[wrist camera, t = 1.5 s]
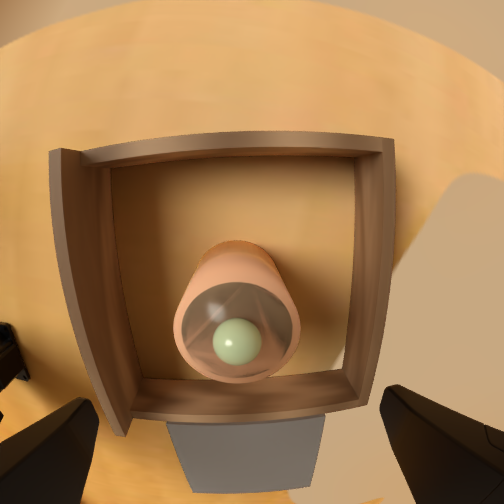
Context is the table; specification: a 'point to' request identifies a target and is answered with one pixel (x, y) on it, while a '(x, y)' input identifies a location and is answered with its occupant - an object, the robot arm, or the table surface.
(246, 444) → the mat
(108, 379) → the frame
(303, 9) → the table surface
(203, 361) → the terracotta pot
